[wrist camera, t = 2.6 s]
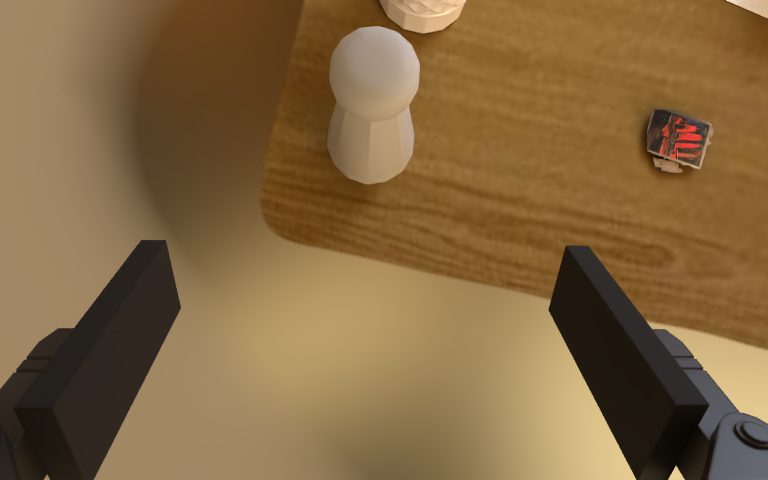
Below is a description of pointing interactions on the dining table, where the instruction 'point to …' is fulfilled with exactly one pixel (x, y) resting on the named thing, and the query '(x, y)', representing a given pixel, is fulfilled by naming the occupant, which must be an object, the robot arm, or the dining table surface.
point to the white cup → (423, 13)
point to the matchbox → (677, 139)
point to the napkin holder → (753, 6)
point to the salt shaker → (372, 104)
